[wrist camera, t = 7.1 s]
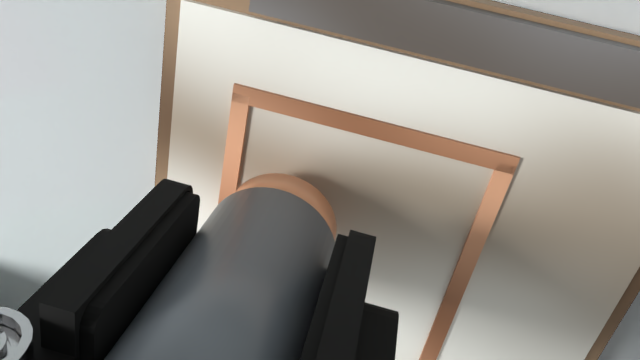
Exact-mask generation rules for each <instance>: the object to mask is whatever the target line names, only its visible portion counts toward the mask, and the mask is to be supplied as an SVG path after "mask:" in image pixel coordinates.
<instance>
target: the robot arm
mask: <svg viewBox="0 0 640 360" xmlns="http://www.w3.org/2000/svg"><path fill="white" fill-rule="evenodd" d="M199 207H200V196H199V195H197V194H193V188H192V186H191V185H187V184H184V183H180V182H176V181H173V180H169V179H163V180H161V181H160V182H159V183H158V184H157V185H156V186H155V187H154V188H153V189H152V190H151V191H150V192H149V193H148V194H147V195H146V196H145V197H144V198H143V199H142V200H141V201H140V202H139V203H138V204H137V205H136V206H135V207H134V208H133V209H132V210H131V211H130V212H129V213H128V214H127V215H126V216H125V217H124V218H123V219H122V220H121V221H120V222H119V223H118V224H117V225H116V226H115V227H114V228H113V229H112V230H110V229H102V230H101V231H100V232H98V233H97V234H96V235H95V236H94V237H93V238H92V239H91V240H90V241H89V242H87V243H86V244H85V245H84V246H83V247H82V248H81V249H80V250H79V251H78V252H77V253H76V254H75V255H74V256H73V257H72V258H71V259H70V260H69V261H68V262H67V263H66V264H65V265H64V266H63V267H61V268H60V269H59V270H58V271H57V272H56V273H55V274H54V275H53V276H52V277H51V278H50V279H49V280H48V281H47V282H46V283H45V284H44V285H43V286H42V287H41V288H40V289H39V290H38V291H36V292H35V293H34V294H33V295H32V296H31V297H30V298H29V299H28V300H27V301H26V302H25V303H24V304H23V305H22V306H21V307H20V308H19V309H18V310H17V311H16V310H13V309H11V308H8V307H0V360H104V359H105V357H106V356H107V355H108V353H109V352H110V351H111V349H112V348H113V346H114V345H115V344H116V342H117V341H118V340H119V338H120V337H121V336H122V334H123V333H124V332H125V330H126V329H127V327H128V326H129V325H130V323H131V322H132V321H133V319H134V318H135V317H136V315H137V314H138V312H139V311H140V310H141V308H142V307H143V306H144V304H145V303H146V302H147V300H148V299H149V298H150V296H151V295H152V293H153V292H154V291H155V289H156V288H157V287H158V285H159V284H160V283H161V281H162V280H163V278H164V277H165V276H166V274H167V273H168V272H169V270H170V269H171V268H172V266H173V265H174V264H175V262H176V261H177V259H178V258H179V257H180V255H181V254H182V253H183V251H184V250H185V249H186V247H187V246H188V244H189V243H190V242H191V240H192V239H193V238H194V236H195V235H196V234H197V225H198V216H199ZM375 243H376V236H372V235H368V234H365V233H361V232H358V231H354V230H350V232H349V236H345V235H341V234H338V235H337V238H336V241H335V245H334V248H333V251H332V255H331V258H330V261H329V264H328V268H327V271H326V274H325V278H324V281H323V284H322V288H321V291H320V294H319V298H318V301H317V304H316V307H315V311H314V314H313V317H312V321H311V324H310V327H309V331H308V334H307V337H306V341H305V344H304V347H303V350H302V354H301V357H300V360H395V354H396V343H397V332H398V321H399V313H398V312H397V311H394V310H390V309H387V308H383V307H380V306H377V305H373V304H370V303H366V302H365V298H366V293H367V287H368V282H369V276H370V271H371V265H372V259H373V254H374V248H375Z"/></svg>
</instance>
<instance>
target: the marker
mask: <svg viewBox="0 0 640 360" xmlns="http://www.w3.org/2000/svg"><path fill="white" fill-rule="evenodd" d="M336 230H337V225H336V219H335V215H334V212H333V210H332V207H331V206H330V204H329V202H328V201H327V199H326V198H325V197H324V195H323V194H322V193H321V192H320V191H319V190H318V189H316V188H315V187H314V186H313V185H311V184H310V183H308V182H306V181H304V180H302V179H300V178H298V177H295V176H292V175H287V174H281V173H268V174H262V175H259V176H256V177H253V178H251V179H249V180H248V181H246V182H245V183H243V184H242V185H241V186H240V187H239V188H238V189H237V190H236V192H235V193H233V194H231V195H229V196H228V197H226V198H225V199H224V200H222V201H221V202H220V203H219V204H218V205H217V207H216V208H215V209H214V210H213V212H212V213H211V215H210V216H209V217H208V219H207V220H206V221H205V223H204V224H203V225H202V227H201V228H200V230H199V231H198V232H197V234H196V235H195V236H194V238H193V239H192V240H191V242H190V243H189V244H188V246H187V247H186V249H185V250H184V251H183V253H182V254H181V255H180V257H179V258H178V259H177V261H176V262H175V264H174V265H173V266H172V268H171V269H170V270H169V272H168V273H167V274H166V276H165V277H164V278H163V280H162V281H161V283H160V284H159V285H158V287H157V288H156V289H155V291H154V292H153V293H152V295H151V296H150V298H149V299H148V300H147V302H146V303H145V304H144V306H143V307H142V308H141V310H140V311H139V312H138V314H137V315H136V317H135V318H134V319H133V321H132V322H131V323H130V325H129V326H128V327H127V329H126V330H125V332H124V333H123V334H122V336H121V337H120V338H119V340H118V341H117V342H116V344H115V345H114V346H113V348H112V349H111V351H110V352H109V353H108V355H107V356H106V357H105V359H104V360H300V357H301V354H302V350H303V347H304V344H305V341H306V337H307V334H308V331H309V327H310V324H311V321H312V317H313V314H314V311H315V307H316V304H317V301H318V298H319V294H320V291H321V288H322V284H323V281H324V278H325V274H326V271H327V268H328V264H329V261H330V258H331V255H332V251H333V248H334V245H335V238H336Z"/></svg>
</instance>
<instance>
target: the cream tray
mask: <svg viewBox="0 0 640 360" xmlns="http://www.w3.org/2000/svg"><path fill="white" fill-rule="evenodd" d="M268 173H281V174H287V175H292V176H295V177H298V178H300V179H302V180H304V181H306V182H308V183H310V184H311V185H313V186H314V187H315V188H316V189H318V190H319V191H320V192H321V193H322V194H323V195H324V197H325V198H326V199H327V201H328V202H329V204H330V206H331V207H332V210H333V212H334V215H335V219H336V225H337V230H336V238H337V235H338V234H341V235H345V236H349V232H350V230H354V231H358V232H361V233H365V234H368V235H372V236H376V243H375V248H374V254H373V259H372V265H371V271H370V276H369V282H368V287H367V293H366V298H365V302H366V303H370V304H373V305H377V306H380V307H383V308H387V309H390V310H394V311H397V312H398V313H399V321H398V332H397V343H396V354H395V360H597V359H598V358H599V356H600V354H601V353H602V351H603V349H604V348H605V346H606V345H607V343H608V341H609V340H610V338H611V336H612V335H613V333H614V332H615V330H616V328H617V327H618V325H619V323H620V322H621V320H622V318H623V317H624V315H625V314H626V312H627V310H628V309H629V307H630V305H631V304H632V302H633V300H634V299H635V297H636V296H637V294H638V292H639V291H640V36H638V35H634V34H630V33H625V32H621V31H617V30H613V29H609V28H604V27H600V26H596V25H592V24H588V23H584V22H579V21H575V20H571V19H567V18H563V17H558V16H554V15H550V14H546V13H542V12H537V11H533V10H529V9H525V8H521V7H517V6H512V5H508V4H504V3H500V2H496V1H491V0H167V3H166V19H165V34H164V50H163V65H162V81H161V96H160V112H159V127H158V143H157V158H156V174H155V186H156V185H157V184H158V183H159V182H160V181H161V180H163V179H169V180H173V181H176V182H180V183H184V184H187V185H191V186H192V188H193V194H197V195H199V196H200V207H199V216H198V225H197V232H198V231H199V230H200V228H201V227H202V225H203V224H204V223H205V221H206V220H207V219H208V217H209V216H210V215H211V213H212V212H213V210H214V209H215V208H216V207H217V205H218V204H219V203H220V202H221V201H222V200H224V199H225V198H226V197H228V196H229V195H231V194H233V193H235V192H236V190H237V189H238V188H239V187H240V186H241V185H242V184H243V183H245V182H246V181H248V180H249V179H251V178H253V177H256V176H259V175H262V174H268ZM336 238H335V241H336Z"/></svg>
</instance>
